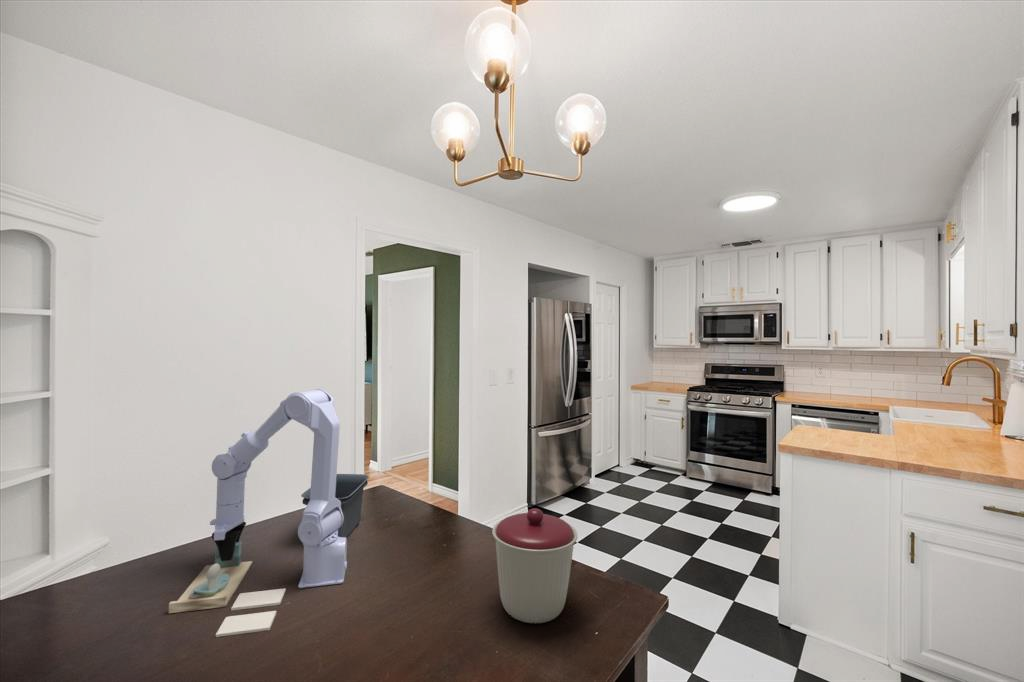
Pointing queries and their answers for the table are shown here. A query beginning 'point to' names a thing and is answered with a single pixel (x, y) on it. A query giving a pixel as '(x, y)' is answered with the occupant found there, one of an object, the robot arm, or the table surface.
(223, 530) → the robot arm
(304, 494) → the storage bin
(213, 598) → the wooden board
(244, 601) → the broken strip
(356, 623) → the table surface
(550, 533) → the canister
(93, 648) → the table surface
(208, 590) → the pacifier
